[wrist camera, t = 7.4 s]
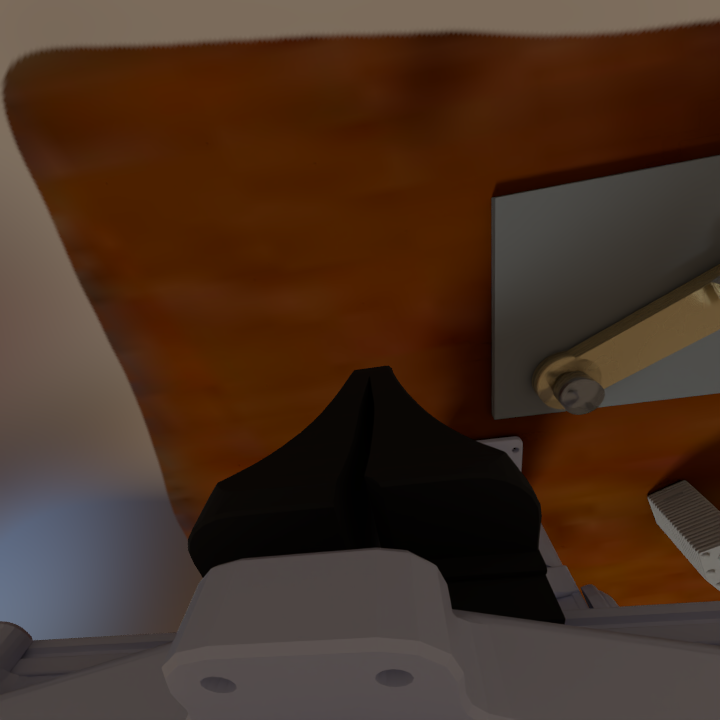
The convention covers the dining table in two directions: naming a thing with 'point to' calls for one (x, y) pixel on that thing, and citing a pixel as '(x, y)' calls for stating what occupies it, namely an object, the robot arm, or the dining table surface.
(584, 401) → the pin cap
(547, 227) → the slate board
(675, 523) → the grey padlock
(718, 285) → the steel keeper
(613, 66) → the dining table surface
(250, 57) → the dining table surface
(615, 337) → the brass link
